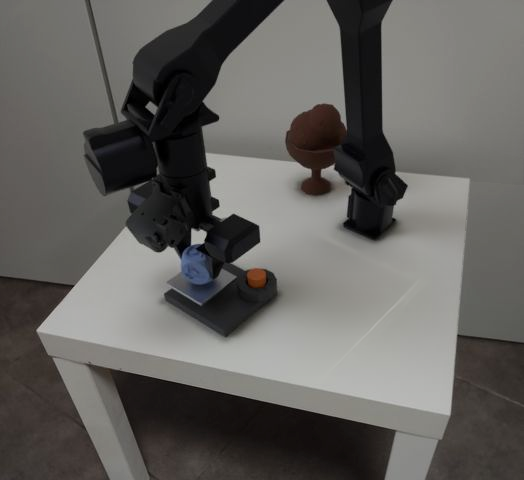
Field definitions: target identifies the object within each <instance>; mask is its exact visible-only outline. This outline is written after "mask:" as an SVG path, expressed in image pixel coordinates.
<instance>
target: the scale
mask: <svg viewBox="0 0 524 480" xmlns="http://www.w3.org/2000/svg"><path fill="white" fill-rule="evenodd" d="M255 268H256V267H254V268H250V269H247V270H245V269H242V268H240V267H239V266H237V265H235V264H233V263H224V264H223V267H222V269H224V270H225V271H227V272H229V273H231V274H233V275H235V276H237V280H235V281H234V282H233V283H231V284H230V285H229V286H227V287H226V288H225V289H224V290H222V291H221V292H220V293H218V294H217V295H216V296H214V297H213V298H212V299H210V300H209V301H208V302H206V303H205V304H204V305H203V306H200V305H199V304H197V303H195V302H194V301H192V300H190V299H189V298H187V297H185V296H184V295H182V294H180V293H179V292H177V291H175V290H174V289H172V288H170V289H168V290H167V291H166V292H164V293H163V295H164V301H165V302H167V303H168V304H170V305H171V306H174V307H175V308H176V309H178V310H179V311H182V312H183V313H185V314H186V315H188V316H190V317H191V318H193V319H195V320H196V321H197V322H199V323H201V324H203V325H204V326H206V327H207V328H209V329H211V330H212V331H213V332H215V333H217V334H218V335H220V336H222V337H224V338H227V337H228V336H229V335H230V334H231V333H233V332H234V331H236V329H238V328H239V327H240V326H241V325H243V323H245V322H246V321H247V320H248V319H250V318H251V317H252V316H253V315H254V314H256V313H257V312H258V311H259V310H261V309H262V308H263V307H264V306H265V305H267V304H268V303H269V302H270V301H271V300H273V299H274V298H275V297H276V296H277V295H278V278H277V277H276V275H275V273H274V272H272V271H271V270H268V269H266V268H259V269H262V270H264V271H265V273H266V284H265V286H263V287H261V288H252V287H250V286H249V285H248V280H247V273H248V272H249V271H250V270H251V269H255Z"/></svg>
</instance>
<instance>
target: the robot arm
mask: <svg viewBox="0 0 524 480" xmlns="http://www.w3.org/2000/svg"><path fill="white" fill-rule="evenodd" d="M393 1H394V0H326V2H327V6H328V7H329V9H330V11H331V12H332V14H333V16H334V19H335V20H336V23H337V25H338V27H339V35H340V50H341V51H340V52H341V66H342V78H343V79H342V80H343V94H344V95H343V96H344V108H345V123H346V125H345V127H346V130H347V134H346V136H345V138H344V140H343V141H342V143H341V145H339V146H336V147H334V149H333V153H334V156H335V163H334V165H333V166H334V167H333V170H334V172H336V173H338V176H339V177H340V178H341V179H343V181H344V184H345V185H346V186H349V187H350V188H351V189H350V194H349V195H348V197H347V209H346V217H347V219H346V220H345V221H343V223H342V227H343V228H345V229H347V230H349V231H352V232H354V233H356V234H358V235H362V236H363V237H366V238H367V239H370V240H372V241H373V240H374V241H377V240H378V239H379V238H381V237H382V236H383V235H384V234H385V233H386V232H387V231H388V230H390V229H391V228H392V227H393V226H395V224H396V223H397V218H395V217H393V216H394V209H395V206H396V205H397V203H398V201H400V200H403V198H404V196H405V194H406V192H407V189H408V184H407V183H406V182H405V181H404V180H403V179H402V178H400V177H399V175H397V174H396V172H397V170H396V169H397V167H396V161H395V155H394V152H393V149H392V147H391V144H390V143H389V141H388V139H387V137H386V135H385V133H384V128H383V125H384V124H383V123H384V121H383V120H384V119H383V51H382V48H383V46H382V45H383V44H382V39H383V38H382V37H383V36H382V24H383V20H384V18H385V16H386V15H387V12H388V11H389V8H390V6H391V5H392V3H393ZM283 2H285V0H211V1H210V2H209V3H208V4H207V5H206V6H205V7H204V8H203V9H202V10H201V11H200V12H199V13H198V14H196V16H194V17H193V18H192V19H190V20H189V21H187V22H185V23H182V24H180V25H177V26H175V27H172V28H169V29H167V30H165V31H164V32H162V33H160V34H159V35H158V36H156V37H154V38H153V39H152V40H151V41H149V42H148V43H145V45H143V46H142V47H141V48H140V49H139V50H138V51H137V53H136V54H135V55H134V58H133V60H132V79H131V82H130V84H129V87H128V90H127V92H126V95H125V98H124V101H123V104H122V106H121V108H120V115H122V116H123V117H124V118H125V120H122V121H119V122H115V123H112V124H108V125H106V126H102V127H101V126H100V127H93V128H89V129H86V130H83V132H82V136H83V139H84V143H83V150H84V151H83V152H84V154H83V158H84V161H85V165H86V167H87V170H88V173H89V175H90V177H91V179H92V181H93V183H94V185H95V187H96V189H97V190H98V192H99V193H100V194H101V196H102V197H107V196H110V195H113V194H117V193H119V192H122V191H124V190H127V189H130V188H133V187H136V186H138V187H137V188H135V189H133V190H131V191H130V193H129V195H128V198H127V200H126V201H127V205H128V209H129V213H130V216H128V217H127V219H126V220H125V227H126V228H127V229H128V231H129V233H131V234H132V236H133V237H134V238H135V240H136V241H137V242H138V244H140V245H143V246H144V247H146V248H148V249H150V250H151V251H153V252H155V253H156V254H157V253H158V254H159V253H163V252H165V250H166V249H167V248H170V249H174V251H175V253H176V255H177V256H178V258H179V259H180V260H181V258H182V254H183V252H184V250H185V249H186V248H188V247H189V246H191V245H192V230H193V231H195V232H199V231H203V232H205V238H204V240H203V243H200V244H201V245H200V246H198V247H197V248H196V250H197V251H199V252H201V253H203V254H204V255H205V258H206V262H207V266H208V270H209V273H210V276H211V279H213V280H214V279H216V278H217V277H218V276H219V274H220V272H221V269H222V267H223V264H224V263H231V264H233V263H234V262H236V261H237V260H238V259H240V258H241V257H242V256H244V255H246V254H247V253H248V252H250V251H251V250H252V249H253V248H255V247H256V246H258V245H259V244H260V243H261V230H260V229H261V228H260V225H259V224H257V223H255V222H253V221H250V220H248V219H246V218H244V217H241V216H240V215H237V214H235V213H232V214H231V215H229V216H227V217H222V218H221V217H218V216H216V215H214V214H213V212H214V211H215V210H217V209H218V208H220V207H221V206H220V199H218V198H216V197H214V196H213V195H212V190H211V183H210V182H211V181H213V180H214V179H216V178H217V174H216V169H215V168H212V167H210V166H208V160H207V154H206V146H205V139H204V131H203V128H204V127H205V126H208V125H211V124H214V123H218V122H219V121H220V115H219V114H217V113H216V112H214V111H213V110H212V109H211V108H209V107H208V106H207V105H206V103H205V102H204V101H205V99H206V98H207V96H208V95H209V94H210V92H211V91H212V89H213V88H214V87H215V85H216V83H217V81H218V78H219V75H220V72H221V69H222V67H223V65H224V63H225V62H226V60H227V59H228V57H229V56H230V55H231V54H232V53H233V52H234V51H235V50H236V49H237V48H238V47H239V46H241V44H242V43H243V42H244V41H245V40H247V39H248V37H249V36H251V34H252V33H253V32H254V31H255V30H256V29H257V28H258V27H260V25H261V24H262V23H263V22H264V21H265V20H266V19H267V18H268V17H269V16H270V15H271V14H272V13H273V12H274V11H276V9H277V8H279V7H280V5H281V4H282V3H283ZM149 103H151V104H153V105H154V106H155V107H156V111H155V114H154V113H153V112H152V111H150V110H149V109H148V108H147V106H148V104H149ZM139 185H140V186H139Z"/></svg>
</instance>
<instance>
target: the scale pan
mask: <svg viewBox="0 0 524 480" xmlns="http://www.w3.org/2000/svg"><path fill="white" fill-rule="evenodd" d="M235 280H237V276H235V275H233V274H231V273H229V272H227V271H225V270H224V269H221V272H220V274H219V276H218V277H217V278H216V279H214V280H212V281H210V282H208V283H206V284H194V283H191V282H189V281H188V280H187V279H185V277H184V276H183V275H182V272H181V271H180V272H179V273H177V274H176V275H174V276H173V277H171V278H170V279H169V280H167V281H166V282H165V286H167V287H169V288H170V289H171V288H172V289H174V290H175V291H177V292H179V293H180V294H182V295H184V296H185V297H187V298H189V299H190V300H192V301H194V302H195V303H197V304H199V305H200V306H203V305H204V304H205V303H206V302H208V301H209V300H210V299H212V298H213V297H214V296H216V295H217V294H218V293H220V292H221V291H222V290H224V289H225V288H226V287H227V286H229V285H230V284H231V283H233V282H234V281H235Z"/></svg>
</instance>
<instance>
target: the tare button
mask: <svg viewBox="0 0 524 480" xmlns="http://www.w3.org/2000/svg"><path fill="white" fill-rule="evenodd" d="M254 268H255V269H253V268H250V269H251V270H250V269H249V270H250V271H249V272H248V273H247V280H248V285H249V286H250V287H252V288H261V287H263V286H265V284H266V273H265V271H264V270H262V269H263V268H260V269H259V268H258V267H254Z"/></svg>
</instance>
